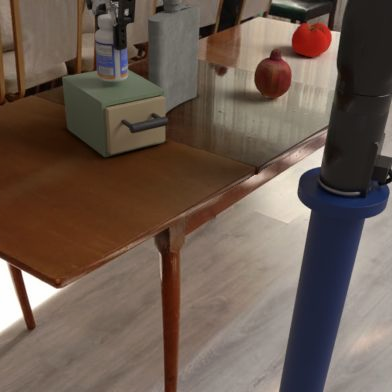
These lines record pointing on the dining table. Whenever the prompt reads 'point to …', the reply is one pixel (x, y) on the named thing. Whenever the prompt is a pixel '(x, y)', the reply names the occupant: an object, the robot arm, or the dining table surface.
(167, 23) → the hip flask
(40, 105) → the dining table surface
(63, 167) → the dining table surface
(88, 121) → the cabinet
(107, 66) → the pill bottle
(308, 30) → the tomato
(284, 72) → the fruit
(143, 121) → the drawer
